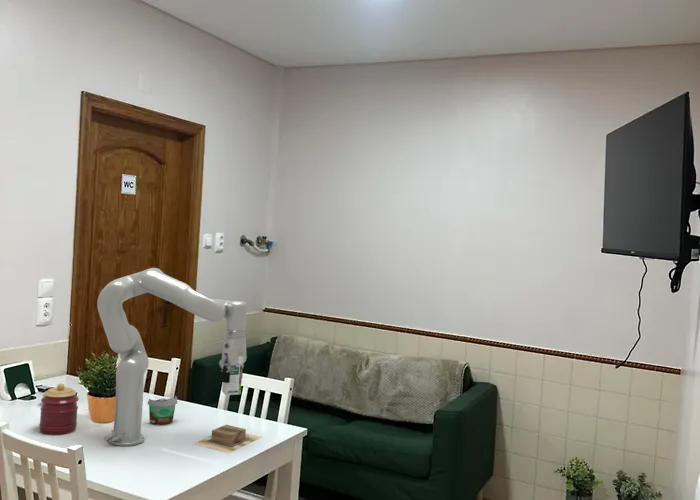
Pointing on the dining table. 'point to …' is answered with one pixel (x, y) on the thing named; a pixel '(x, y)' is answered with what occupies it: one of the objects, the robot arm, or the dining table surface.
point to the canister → (59, 411)
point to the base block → (228, 435)
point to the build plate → (224, 447)
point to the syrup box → (234, 379)
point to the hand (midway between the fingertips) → (231, 380)
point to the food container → (162, 411)
